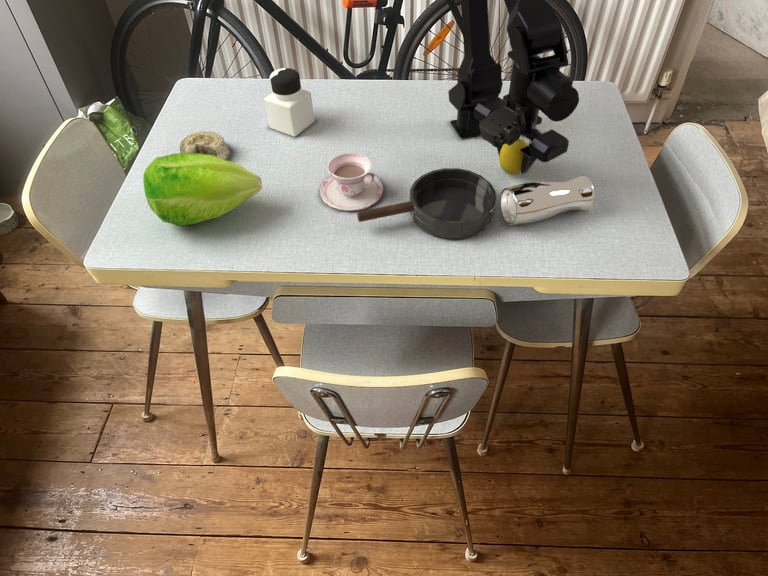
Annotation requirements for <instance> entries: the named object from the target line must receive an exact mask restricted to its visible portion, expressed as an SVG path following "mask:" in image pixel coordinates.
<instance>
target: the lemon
mask: <svg viewBox="0 0 768 576" xmlns="http://www.w3.org/2000/svg"><path fill="white" fill-rule="evenodd" d="M526 146H528V143H527V142H526V141H525V139H522V138H521V137H520V138H519V139H518V140H517V141H515V142H514V143H513V144H512V145H510V146H509V145H507V144H504V145H503V146H502V148H501V151H500V154H499V155H498V163H499V166H500V168H501V169H502V171H504V172H505V173H507V174H509V175H516V174H519V173H521V165H522V160H523V153H522V152H521V151H520V149H522V148H524V147H526Z"/></svg>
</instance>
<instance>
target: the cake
mask: <svg viewBox="0 0 768 576" xmlns="http://www.w3.org/2000/svg"><path fill="white" fill-rule="evenodd" d="M179 152H180V153H195V154H207V155H213V156H216V157H218V158H221V159H224V160H228V158H229V157H230V155H231V151H230V148H229V147H228V146H227V145H226V141H225V139H224V137H223V136H221V134H219V133H217V132H215V131H209V130H208V131H203V130H202V131H201V130H200V131H197V132H194V133H192V134H190V135H189V134H187V135H186V137H183V139H182V140H181V142H180V143H179Z"/></svg>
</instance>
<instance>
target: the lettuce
mask: <svg viewBox="0 0 768 576" xmlns="http://www.w3.org/2000/svg"><path fill="white" fill-rule="evenodd" d="M142 177H143V189H144V195H145V198H146V202H147V204H148V206H149V208H150V209H151V211H152V212H153V213H154V214H155V215H156V216H157V217H158V218H159V219H160V220H161V221H162V222H163V223H166V224H169V225H174V226H189V225H196V224H198V223H202V222H204V221H205V222H206V221H208V220H212V219H218V218H220V217H221V216H223V215H225V214H228V213H229V212H230V211H232V210H234V209H236V208H237V207H239V206H240V205H242V204H243V203H244V202H245V201H247V200H249V199H250V198H252V197H253V196H255V195H256V194H258V193H259V192H260V191H261V190H262V189H263V181H262V177H260V176H259V175H258V174H256V173H255V172H252V171H250V170H248V169H247V168H245V167H244V166H242V165H240V164H237V163H235V162H232V161H229V160H228V159H226V160H224V159H221V158H218V157H216V156H213V155H207V154H195V153H181V152H180V153H179V152H178V153H171V154H167V155H163V156H156V157H155V158H154V159H153V160H152V161H151V162H150V163H149V164H148V166H146V168H145V169H144V171H143V176H142Z"/></svg>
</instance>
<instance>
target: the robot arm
mask: <svg viewBox="0 0 768 576" xmlns="http://www.w3.org/2000/svg"><path fill="white" fill-rule="evenodd" d="M503 2H504V4H505V6H506V10H507V14H508V19H507V24H506V32H507V36H508V39H509V45H510V48H511V50H510V51H507V56H508V57H509V58H510V60H512V61H513V62H512V63H513V64H512V71H511V77H510V83H509V88H508V93H507V94H505V95H502V98H501V97H499V96H500V94H501V93H502V90H503V85H504V84H503V78H502V70H503V69H502V65H501V63H500V62H496V60H495V59H494V57H493V56H492V54H491V42H490V41H491V40H490V19H489V1H488V0H460V9H461V10H460V11H461V27H462V39H463V52H464V53H463V55H464V56H463V59H462V61H461V63H460V65H459V67H458V69H457V72H456V73H457V74H456V75H457V76H456V77H457V81H456V82H457V83H456V84H455V85H453V87H451V88H450V89H449V90H448V102H449V103H450V104H451V105H452V106H453V107H454V108H455V110H456V111H457V113H456V119H452V120H450V125H451V127H452V128H453V130H455V133H456V134H457V135H458V138H460V139H461V140H463V139H467V138H474V137H479V136H481V138H482V140H484V141H486V142H487V143H489V144H490V145H492V147H494V148H496V151H497V156H499V154H500V151H501V148H502V146H503V145H504V144H507V145H509V146H510V145H512V144H513V143H514V142H515V141H517V140H518V139H519V138H520V139H521V138H527V139H528V140H529V141H528V143H527V145H528V146H526V147H524V148H522V149H520V151H521V152H522V153H523V160H522V165H521V172H520V174H521V175H524V174H526V173H527V172H528V171H529V170H530V168H531V167H532V166H533V165H534V163H535V162H536V161H537V160H538V161H539V162H541V163H548V162H550V161H552V160H554V159H557V158H558V157H560V156H562V155H564V154H566V153H567V152H568V149H569V144H570V140H569V139H568V138H567V137H566V136H564V135H563V134H561V133H560V132H557V131H556V130H555V129H552V128H551V129H549V130H547V131H541V130H539V129H538V128H537V126H539V125H540V124H542V122H543V117H541V116H540V112H541V113H543V115H545V116H546V118H548V119H549V120H550V121H552V122H562V121H564V120H565V119H568V118H569V117H570V116H571V115H572V114H573V113H574V111H575V110H576V109H577V107H578V104H579V102H580V97H579V92H578V90H577V89H576V88H575V87H574V86H573V84H574V80H573V79H572V78H571V77H570V76H569V75H566V74H565V73H563V72H562V71H561V70H560V69H561V68H564V67H567V66H568V65H569V59H568V54H569V50H568V46H567V44H566V40H565V34H564V28H563V25H562V22H561V19H560V17H559V16H558V14H557V13H556V11H555V9H554V7H553V5H552V4H550V3H549V2H547V1H546V0H503ZM550 52H553V53H554V54H553V55H548V56H544V57H542V56H540V55H542V54H546V53H550Z"/></svg>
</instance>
